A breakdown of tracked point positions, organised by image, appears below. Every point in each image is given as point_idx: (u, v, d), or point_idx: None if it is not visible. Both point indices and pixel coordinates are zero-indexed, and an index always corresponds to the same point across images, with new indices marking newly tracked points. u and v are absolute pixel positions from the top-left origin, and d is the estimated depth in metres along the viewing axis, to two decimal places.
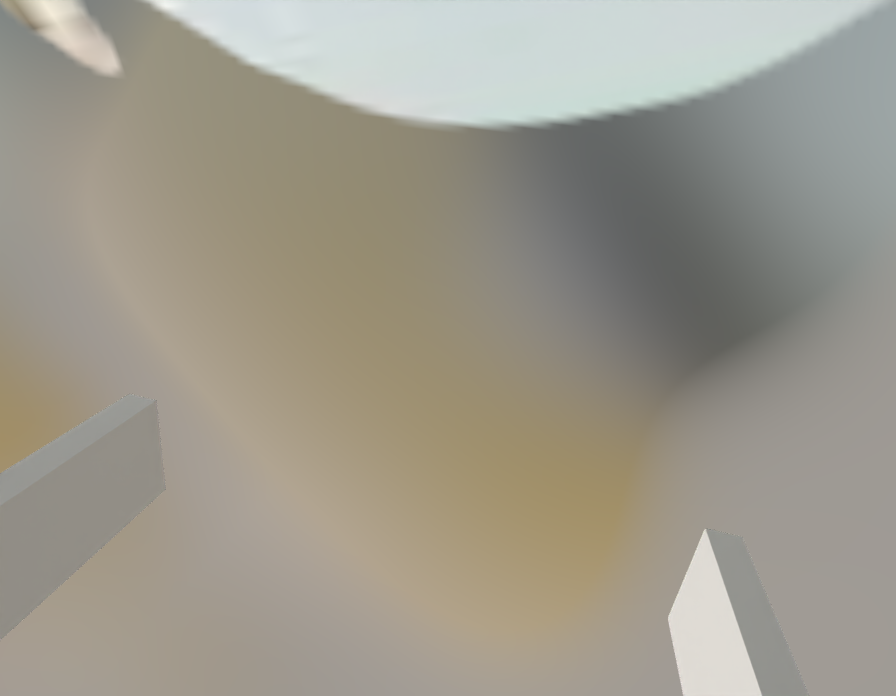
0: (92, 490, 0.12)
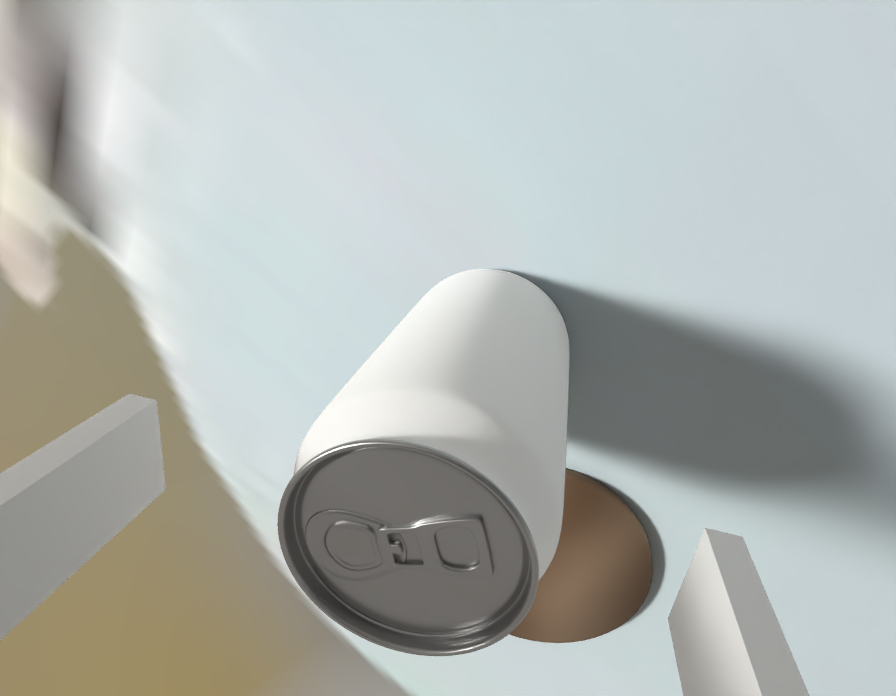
0: (92, 490, 0.12)
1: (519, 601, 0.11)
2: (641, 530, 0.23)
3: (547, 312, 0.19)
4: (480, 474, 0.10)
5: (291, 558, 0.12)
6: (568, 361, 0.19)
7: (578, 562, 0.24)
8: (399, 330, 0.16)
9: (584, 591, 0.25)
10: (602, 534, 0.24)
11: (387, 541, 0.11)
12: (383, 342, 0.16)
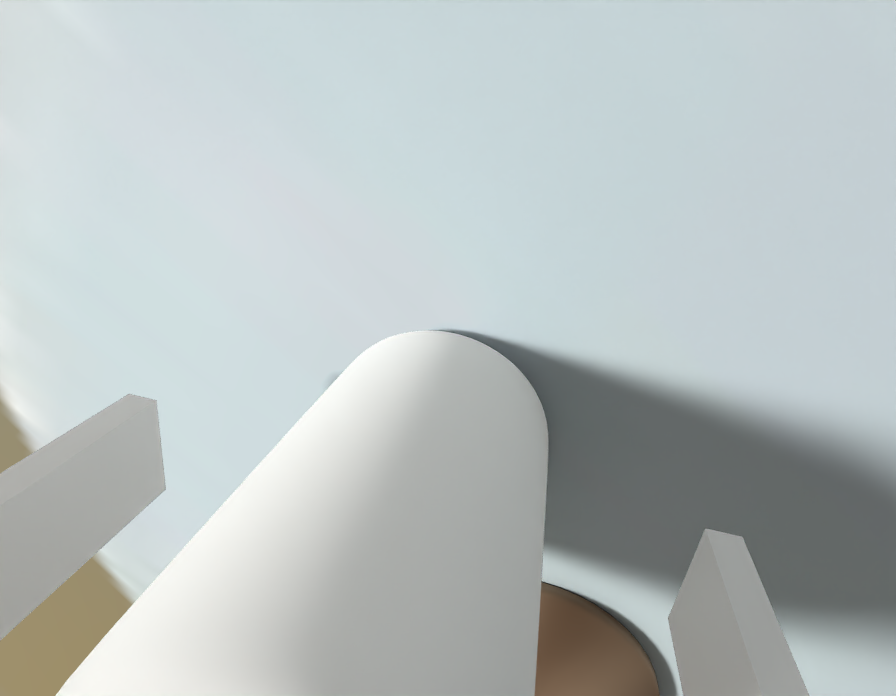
0: (92, 490, 0.12)
1: None
2: (646, 666, 0.17)
3: (514, 401, 0.13)
4: None
5: None
6: (545, 470, 0.13)
7: None
8: (274, 457, 0.10)
9: None
10: (595, 669, 0.18)
11: None
12: (250, 475, 0.10)
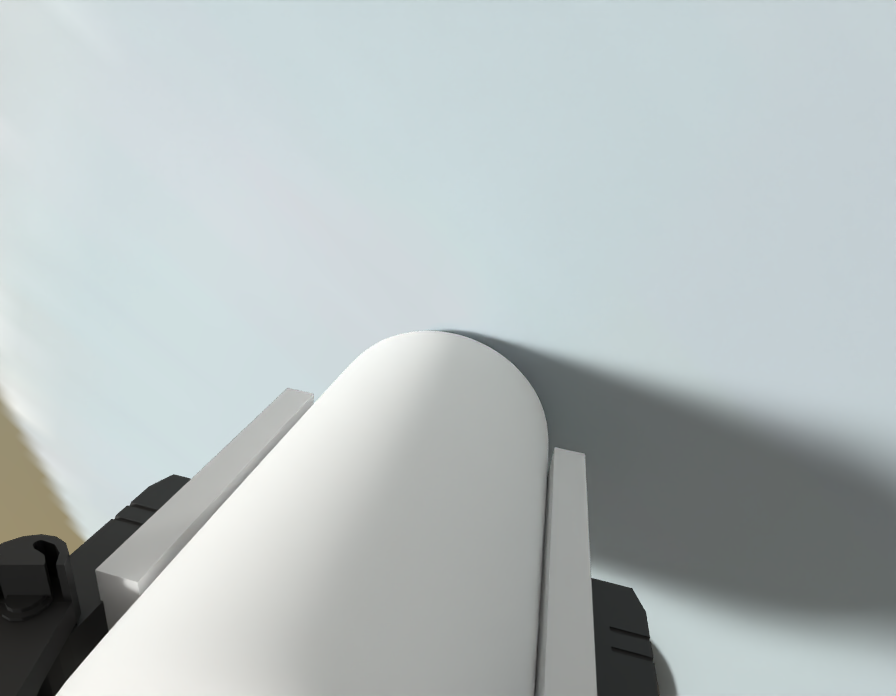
0: None
1: None
2: None
3: (514, 401, 0.13)
4: None
5: None
6: (545, 470, 0.13)
7: None
8: (273, 458, 0.10)
9: None
10: None
11: None
12: (249, 475, 0.10)
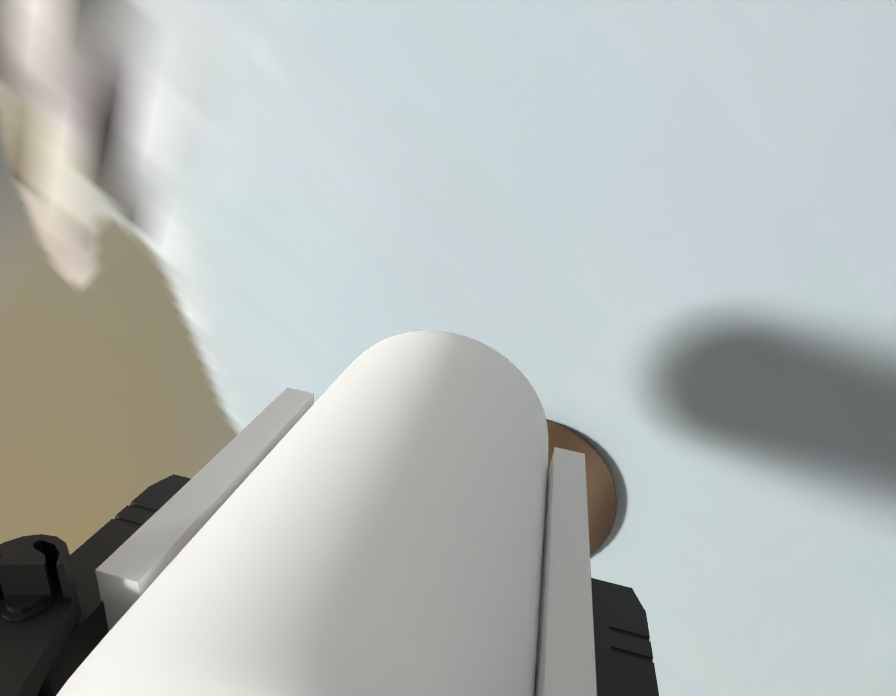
0: None
1: None
2: (606, 469, 0.28)
3: (514, 401, 0.13)
4: None
5: None
6: (545, 470, 0.13)
7: None
8: (274, 457, 0.10)
9: None
10: None
11: None
12: (250, 475, 0.10)
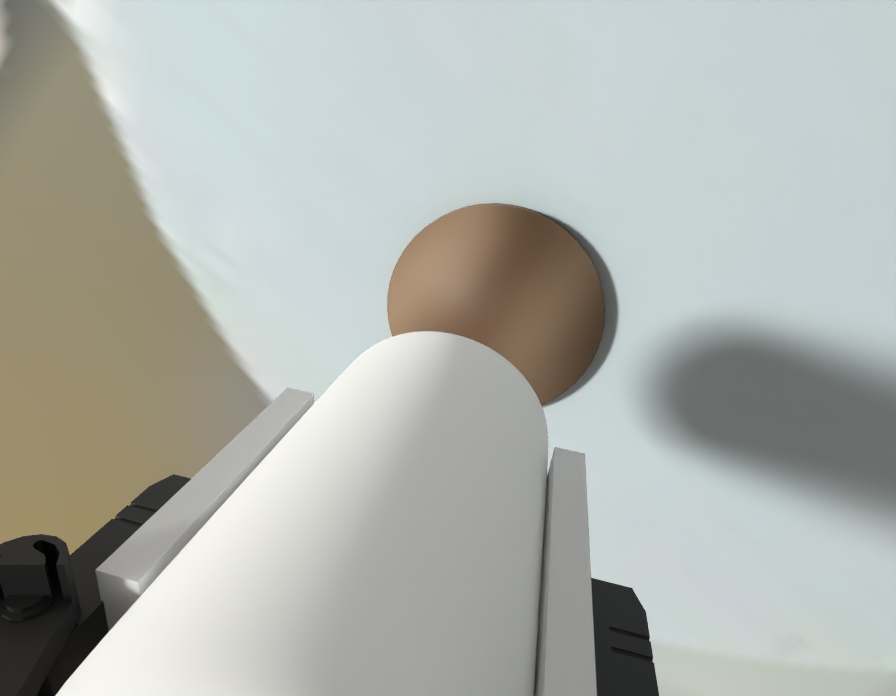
0: None
1: None
2: (592, 264, 0.23)
3: (514, 402, 0.13)
4: None
5: None
6: (545, 471, 0.13)
7: (531, 310, 0.24)
8: (272, 458, 0.10)
9: (538, 346, 0.25)
10: (553, 273, 0.24)
11: None
12: (248, 476, 0.10)
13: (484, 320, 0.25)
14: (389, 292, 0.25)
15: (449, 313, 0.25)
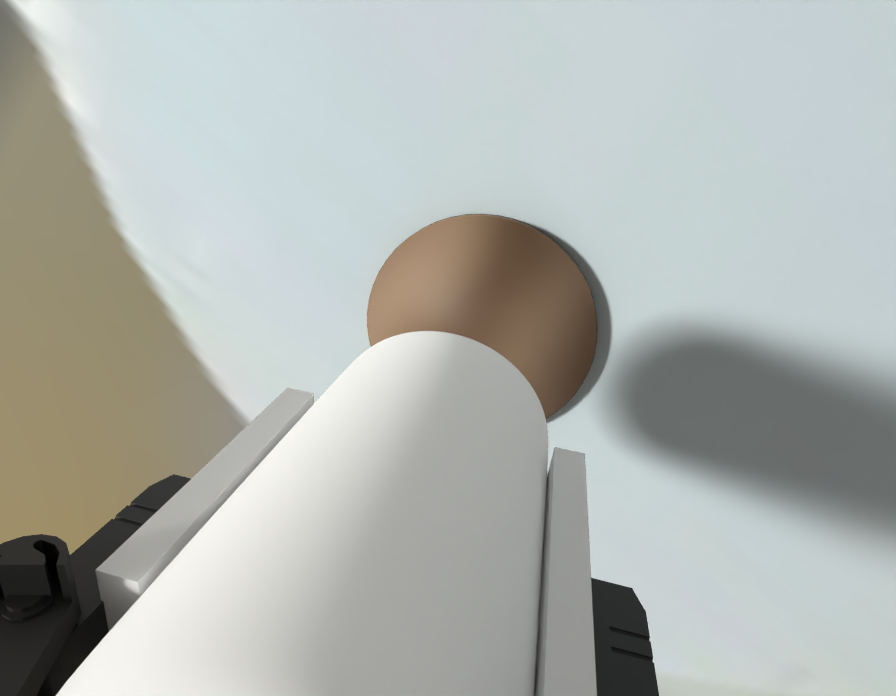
0: None
1: None
2: (583, 279, 0.22)
3: (514, 401, 0.13)
4: None
5: None
6: (545, 470, 0.13)
7: (519, 327, 0.23)
8: (273, 458, 0.10)
9: (527, 364, 0.23)
10: (543, 288, 0.22)
11: None
12: (249, 476, 0.10)
13: (469, 337, 0.24)
14: (369, 307, 0.24)
15: (432, 330, 0.24)
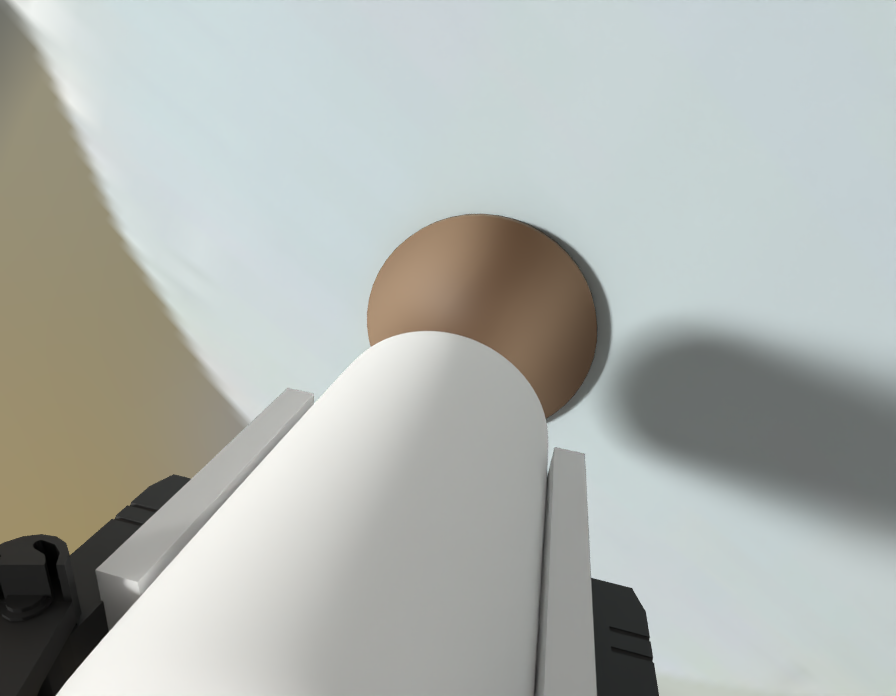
0: None
1: None
2: (583, 279, 0.22)
3: (514, 401, 0.13)
4: None
5: None
6: (545, 470, 0.13)
7: (519, 327, 0.23)
8: (273, 458, 0.10)
9: (527, 364, 0.23)
10: (543, 288, 0.22)
11: None
12: (249, 476, 0.10)
13: (469, 337, 0.24)
14: (369, 307, 0.24)
15: (432, 330, 0.24)
